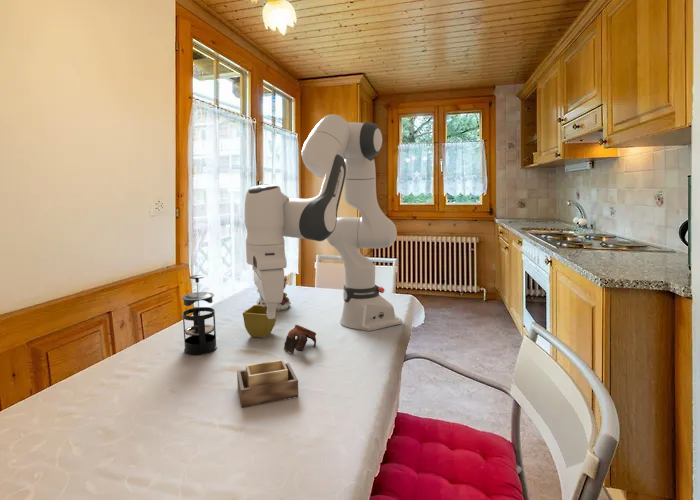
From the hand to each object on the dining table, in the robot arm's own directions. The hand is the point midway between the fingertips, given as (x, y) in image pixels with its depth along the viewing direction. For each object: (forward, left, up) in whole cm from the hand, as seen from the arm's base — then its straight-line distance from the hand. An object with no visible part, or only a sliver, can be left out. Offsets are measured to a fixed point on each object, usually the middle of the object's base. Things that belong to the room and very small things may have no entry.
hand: (267, 311), depth 91 cm
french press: (+16, -31, -20) cm, 40 cm away
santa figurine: (-13, -68, -20) cm, 72 cm away
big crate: (+1, +2, -19) cm, 19 cm away
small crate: (+1, +2, -19) cm, 19 cm away
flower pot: (-3, -36, -20) cm, 41 cm away
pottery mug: (-13, -20, -20) cm, 31 cm away
